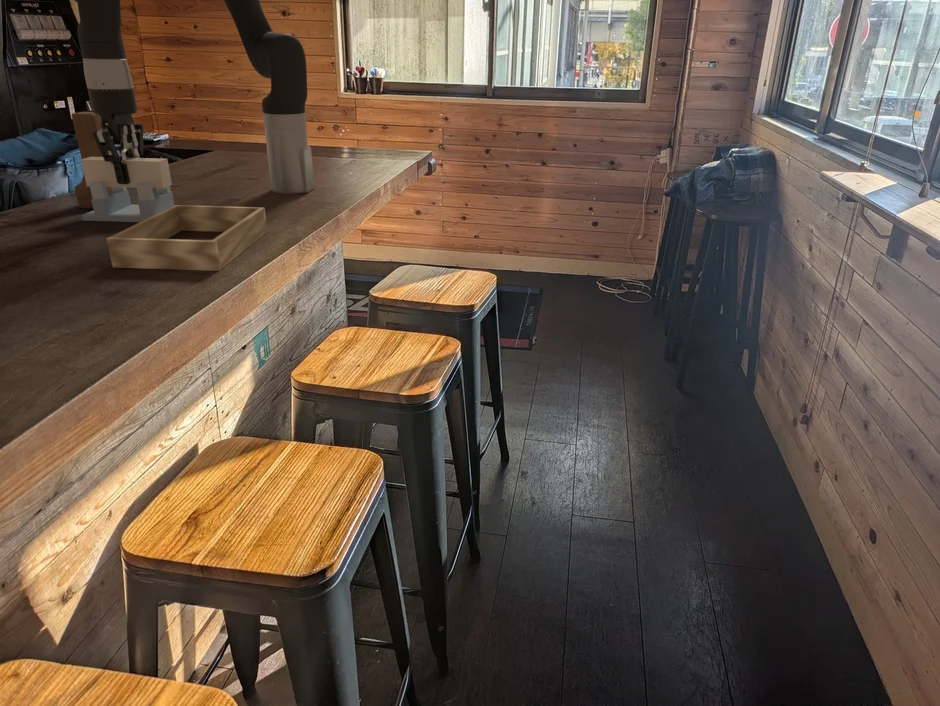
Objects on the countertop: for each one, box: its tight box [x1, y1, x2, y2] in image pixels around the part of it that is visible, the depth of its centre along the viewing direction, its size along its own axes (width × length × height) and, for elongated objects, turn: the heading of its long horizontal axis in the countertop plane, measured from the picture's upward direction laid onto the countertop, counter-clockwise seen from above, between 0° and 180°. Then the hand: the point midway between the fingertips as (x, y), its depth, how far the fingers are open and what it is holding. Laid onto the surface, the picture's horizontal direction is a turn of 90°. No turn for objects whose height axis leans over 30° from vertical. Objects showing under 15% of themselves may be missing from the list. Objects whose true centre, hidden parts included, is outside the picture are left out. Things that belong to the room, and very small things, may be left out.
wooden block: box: [71, 111, 112, 210], centre depth 133 cm, size 9×4×18 cm, turn 177°
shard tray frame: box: [105, 204, 268, 272], centre depth 109 cm, size 17×23×4 cm
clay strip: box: [80, 157, 173, 189], centre depth 125 cm, size 15×4×5 cm, turn 88°
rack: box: [81, 182, 175, 223], centre depth 127 cm, size 16×10×7 cm, turn 87°
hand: (129, 181), depth 126 cm, fingers closed on clay strip, 3 cm apart
